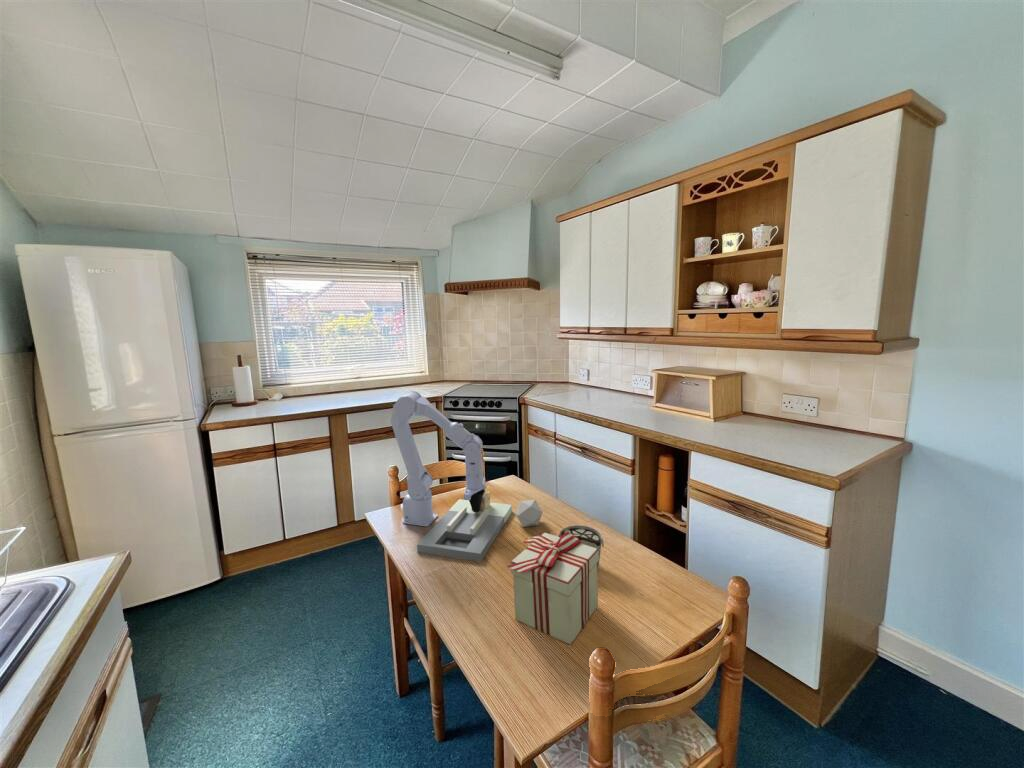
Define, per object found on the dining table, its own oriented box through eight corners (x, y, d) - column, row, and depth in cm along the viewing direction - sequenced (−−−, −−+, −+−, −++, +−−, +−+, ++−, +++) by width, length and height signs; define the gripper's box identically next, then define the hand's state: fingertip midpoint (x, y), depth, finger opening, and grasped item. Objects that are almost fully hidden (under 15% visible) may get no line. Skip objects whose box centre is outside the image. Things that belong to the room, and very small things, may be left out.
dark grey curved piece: (607, 562, 116) (608, 529, 115) (602, 575, 111) (603, 540, 109) (565, 553, 121) (565, 521, 120) (558, 564, 116) (558, 531, 114)
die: (537, 534, 133) (549, 506, 136) (513, 522, 133) (526, 494, 135) (531, 531, 141) (543, 504, 144) (508, 519, 141) (521, 493, 143)
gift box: (532, 580, 110) (530, 519, 107) (600, 603, 100) (601, 537, 97) (497, 622, 95) (494, 553, 92) (573, 653, 86) (573, 577, 83)
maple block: (471, 509, 144) (470, 496, 143) (476, 503, 149) (476, 490, 148) (485, 511, 143) (484, 497, 142) (490, 505, 148) (489, 491, 147)
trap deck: (417, 552, 124) (416, 538, 123) (459, 505, 153) (459, 494, 153) (480, 561, 118) (480, 547, 118) (512, 511, 148) (511, 499, 147)
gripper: (477, 482, 131) (479, 522, 134) (492, 466, 145) (494, 502, 147) (456, 480, 134) (459, 520, 136) (473, 464, 147) (475, 500, 150)
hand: (476, 511), depth 142 cm, fingers closed
